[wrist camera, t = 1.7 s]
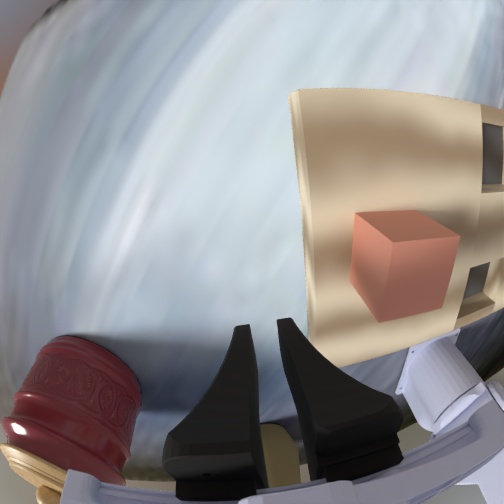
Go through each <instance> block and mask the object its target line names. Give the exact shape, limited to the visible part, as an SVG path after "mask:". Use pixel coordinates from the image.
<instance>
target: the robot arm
mask: <svg viewBox="0 0 504 504" xmlns="http://www.w3.org/2000/svg"><path fill="white" fill-rule="evenodd" d="M277 326H278V335H279V344H280V352H281V357H282V363H283V368H284V372H285V375H286V378H287V381H288V384H289V387H290V390H291V393H292V396H293V400H294V403H295V406H296V409H297V413H298V417H299V422H300V427H301V432H302V437H303V442H304V447H305V453H306V458H307V463H308V469H309V474H310V480H311V481H310V482H305V483H300V484H294V485H288V486H282V487H275V488H269V483H268V477H267V470H266V464H265V457H264V450H263V443H262V436H261V428H260V420H259V392H258V370H257V363H256V355H255V350H254V345H253V340H252V335H251V329H250V324H247V325H240V326H236V327H235V328H234V333H233V337H232V340H231V343H230V346H229V349H228V351H227V354H226V356H225V359H224V361H223V363H222V365H221V367H220V369H219V371H218V373H217V375H216V377H215V379H214V381H213V382H212V384H211V386H210V387H209V389H208V390H207V392H206V393H205V394H204V396H203V397H202V399H201V400H200V401H199V403H198V404H197V405H196V406H195V407H194V408H193V410H192V411H191V412H190V413H189V414H188V415H187V416H186V417H185V418H184V419H183V420H182V421H181V422H180V423H179V424H178V425H177V426H176V427H175V428H174V429H173V430H171V431H170V432H169V433H168V435H167V438H166V441H165V445H164V449H163V457H162V467H163V468H164V469H165V470H166V471H167V472H168V473H169V474H170V475H171V476H172V477H173V478H174V479H175V480H176V492H173V491H160V490H149V489H141V488H133V487H126V486H120V485H115V484H109V483H104V482H100V481H99V480H98V479H97V478H96V477H94V476H92V475H90V474H87V473H83V472H79V471H75V470H71V469H68V472H67V475H66V479H65V483H64V487H63V491H62V495H61V499H60V504H421V503H423V502H425V501H427V500H429V499H431V498H433V497H435V496H436V495H438V494H440V493H442V492H444V491H445V490H447V489H449V488H450V487H452V486H454V485H466V484H478V485H479V487H480V489H481V491H482V494H483V495H484V498H485V500H486V502H487V504H504V388H503V387H502V386H501V385H500V384H499V383H498V382H497V381H490V382H489V383H488V384H485V383H484V382H483V380H482V379H481V378H480V376H479V375H478V374H477V372H476V371H475V370H474V369H473V367H472V366H471V365H470V363H469V362H468V361H467V359H466V358H465V357H464V356H463V354H462V353H461V352H460V351H459V349H458V348H457V347H456V346H455V343H456V341H457V338H458V335H459V333H460V328H458V329H456V330H453V331H451V332H448V333H446V334H443V335H441V336H438V337H436V338H433V339H430V340H428V341H425V342H422V343H419V344H416V345H414V346H411V347H410V348H409V352H408V355H407V358H406V362H405V365H404V368H403V371H402V374H401V377H400V380H399V383H398V386H397V389H396V392H395V393H396V394H397V395H398V394H401V393H403V395H404V397H405V398H406V400H407V402H408V404H409V406H410V408H411V410H412V412H413V414H414V415H415V417H416V419H417V421H418V423H419V424H420V425H421V426H422V427H423V428H424V429H426V430H428V431H433V434H431V436H430V441H429V442H427V443H425V444H423V445H421V446H418V447H416V448H414V449H411V450H409V451H407V452H404V453H402V452H401V450H400V448H399V445H398V443H399V438H398V436H397V432H398V430H399V428H400V427H401V425H402V423H403V420H404V416H403V413H402V411H401V409H400V408H399V406H398V405H397V403H396V402H395V401H394V399H393V398H392V397H391V396H389V395H387V394H384V393H382V392H379V391H377V390H374V389H372V388H370V387H368V386H366V385H364V384H362V383H361V382H359V381H357V380H355V379H354V378H352V377H351V376H349V375H347V374H346V373H344V372H343V371H342V370H340V369H339V368H337V367H336V366H335V365H334V364H332V363H331V362H330V361H329V360H328V359H326V358H325V357H324V356H323V355H322V354H321V353H320V352H319V351H318V350H317V349H316V348H315V347H314V346H313V345H312V344H311V343H310V342H309V340H308V339H307V338H306V337H305V336H304V335H303V333H302V332H301V331H300V330H299V328H298V327H297V325H296V324H295V322H294V321H293V319H292V318H284V319H278V320H277Z"/></svg>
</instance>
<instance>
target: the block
mask: <svg viewBox="0 0 504 504" xmlns="http://www.w3.org/2000/svg"><path fill="white" fill-rule="evenodd" d="M459 239H460V236H459V235H458V234H456V233H455V232H453V231H451V230H450V229H448V228H446V227H445V226H443V225H441V224H440V223H438V222H436V221H434V220H433V219H431V218H429V217H427V216H426V215H424V214H422V213H420V212H418V211H417V210H402V211H379V212H359V213H355V215H354V232H353V245H352V257H351V268H350V278H349V281H350V283H351V284H352V285H353V287H354V288H355V290H356V291H357V293H358V294H359V295H360V297H361V298H362V300H363V301H364V303H365V304H366V305H367V307H368V308H369V310H370V311H371V313H372V314H373V316H374V317H375V319H376V320H377V322H378V323H381V322H386V321H391V320H396V319H400V318H405V317H409V316H413V315H417V314H422V313H426V312H430V311H433V310H437V309H441V308H442V306H443V303H444V300H445V296H446V293H447V290H448V286H449V282H450V279H451V275H452V271H453V267H454V263H455V258H456V254H457V249H458V244H459Z"/></svg>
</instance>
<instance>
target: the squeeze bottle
mask: <svg viewBox="0 0 504 504" xmlns="http://www.w3.org/2000/svg"><path fill="white" fill-rule="evenodd" d="M260 428H261V436H262V443H263V450H264V457H265V464H266V470H267V477H268V483H269V488H275V487H282V486H288V485H294V484H300V483H301V480H300V467H299V453H298V448H297V446H296V445H295V443H294V441H293V440H292V438H291V437H290V435H289V434H288V432H287V431H286V429H285V428H284V427H282V426H281V425H276V424H260Z"/></svg>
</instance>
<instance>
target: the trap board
mask: <svg viewBox="0 0 504 504" xmlns="http://www.w3.org/2000/svg"><path fill="white" fill-rule="evenodd" d="M288 101H289V108H290V115H291V123H292V130H293V138H294V147H295V155H296V164H297V174H298V184H299V194H300V205H301V216H302V229H303V242H304V257H305V273H306V292H307V316H308V340H309V342H310V343H311V344H312V345H313V346H314V347H315V348H316V349H317V350H318V351H319V352H320V353H321V354H322V355H323V356H324V357H325V358H326V359H328V360H329V361H330V362H331V363H332V364H334V365H335V366H336V367H337V368H338V367H342V366H346V365H350V364H354V363H358V362H362V361H365V360H369V359H372V358H376V357H379V356H383V355H386V354H389V353H392V352H396V351H399V350H402V349H405V348H408V347H411V346H414V345H416V344H419V343H422V342H425V341H428V340H430V339H433V338H436V337H438V336H441V335H443V334H446V333H448V332H451V331H453V330H456V329H458V328H460V327H463V326H465V325H467V324H470V323H472V322H474V321H476V320H479V319H481V318H483V317H485V316H487V315H489V314H491V313H493V312H495V311H497V310H499V309H501V308H503V307H504V110H501V109H497V108H494V107H490V106H486V105H482V104H477V103H473V102H468V101H464V100H459V99H453V98H448V97H442V96H435V95H429V94H421V93H413V92H404V91H392V90H378V89H355V88H320V89H298V90H296V91H294V92H292V93H291V94H289V95H288ZM402 210H417V211H418V212H420V213H422V214H424V215H426V216H427V217H429V218H431V219H433V220H434V221H436V222H438V223H440V224H441V225H443V226H445V227H446V228H448V229H450V230H451V231H453V232H455V233H456V234H458V235H459V236H460V239H459V244H458V249H457V254H456V258H455V263H454V267H453V271H452V275H451V279H450V282H449V286H448V290H447V293H446V296H445V300H444V303H443V306H442V308H441V309H437V310H433V311H430V312H426V313H422V314H417V315H413V316H409V317H405V318H400V319H396V320H391V321H386V322H381V323H378V322H377V320H376V319H375V317H374V316H373V314H372V313H371V311H370V310H369V308H368V307H367V305H366V304H365V303H364V301H363V300H362V298H361V297H360V295H359V294H358V293H357V291H356V290H355V288H354V287H353V285H352V284H351V283H350V281H349V278H350V268H351V257H352V245H353V232H354V215H355V213H359V212H379V211H402Z"/></svg>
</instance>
